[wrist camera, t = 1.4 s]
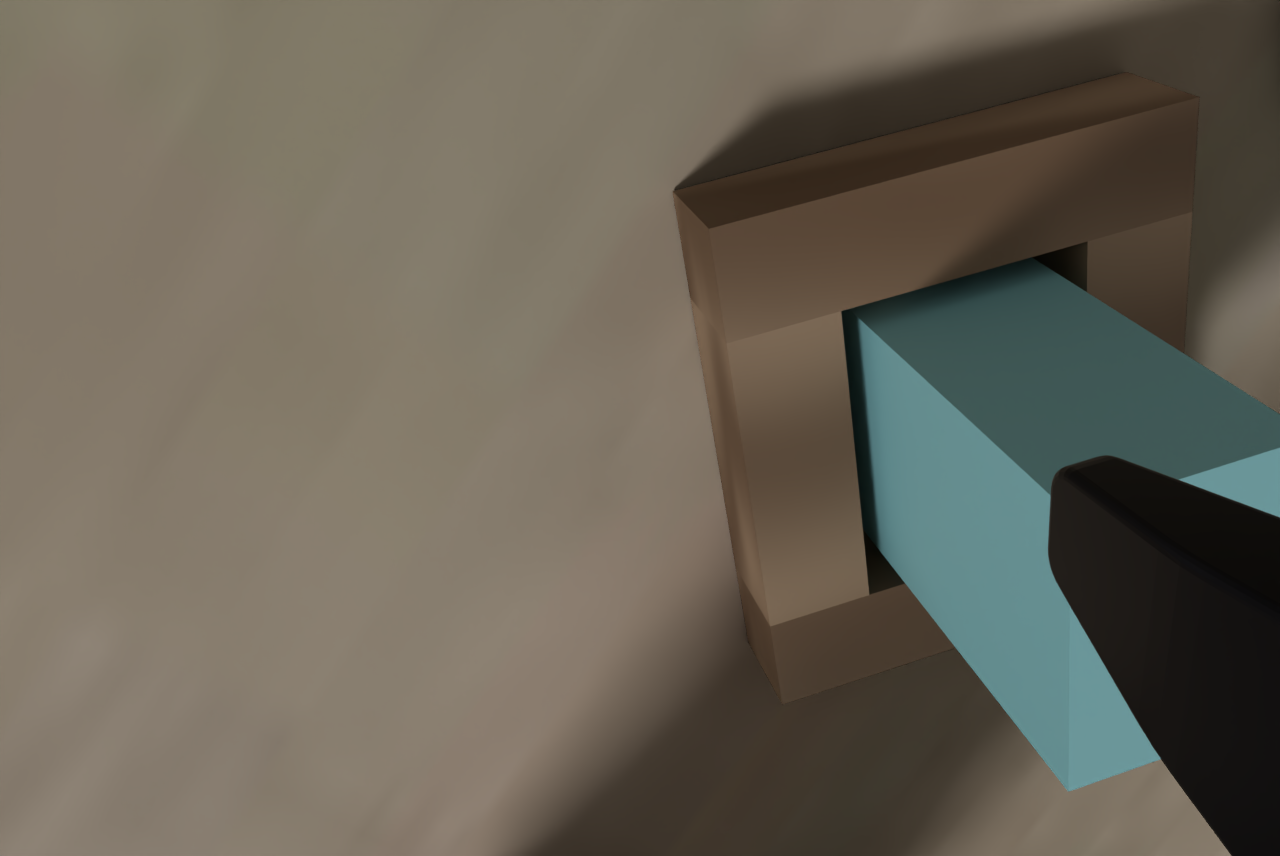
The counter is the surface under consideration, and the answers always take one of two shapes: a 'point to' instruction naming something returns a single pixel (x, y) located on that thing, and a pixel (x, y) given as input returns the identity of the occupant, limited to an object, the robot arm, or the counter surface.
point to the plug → (1029, 475)
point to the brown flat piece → (889, 266)
